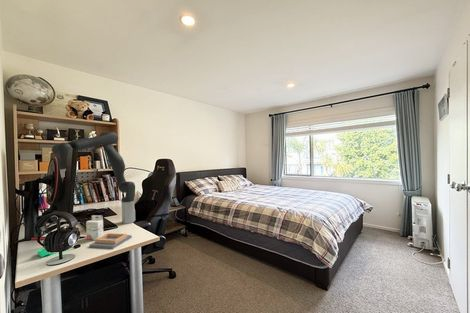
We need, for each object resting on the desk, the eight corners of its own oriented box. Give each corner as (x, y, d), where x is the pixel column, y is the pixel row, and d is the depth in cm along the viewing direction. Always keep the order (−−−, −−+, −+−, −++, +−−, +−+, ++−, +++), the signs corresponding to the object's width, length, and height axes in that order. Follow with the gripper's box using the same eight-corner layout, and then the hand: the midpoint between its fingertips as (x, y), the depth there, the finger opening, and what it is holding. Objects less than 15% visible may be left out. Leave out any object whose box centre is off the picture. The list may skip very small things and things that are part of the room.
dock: (110, 236, 137) (110, 231, 137) (131, 237, 134) (131, 232, 134) (89, 247, 121) (89, 241, 121) (113, 248, 118) (113, 242, 118)
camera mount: (63, 246, 123) (63, 229, 123) (68, 249, 119) (68, 232, 119) (36, 255, 113) (36, 236, 113) (41, 258, 109) (40, 239, 109)
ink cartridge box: (86, 239, 132) (85, 217, 132) (92, 236, 137) (91, 215, 137) (98, 240, 131) (97, 217, 131) (103, 236, 136) (103, 215, 136)
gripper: (82, 173, 124) (88, 198, 126) (70, 174, 131) (77, 198, 132) (67, 176, 117) (75, 203, 119) (56, 177, 124) (63, 202, 126)
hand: (76, 200), depth 126 cm, fingers open, 8 cm apart
